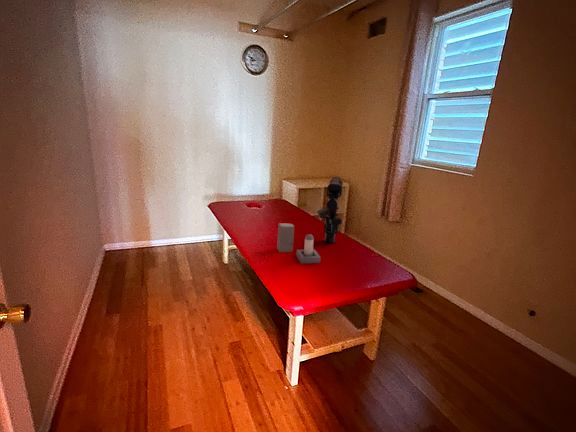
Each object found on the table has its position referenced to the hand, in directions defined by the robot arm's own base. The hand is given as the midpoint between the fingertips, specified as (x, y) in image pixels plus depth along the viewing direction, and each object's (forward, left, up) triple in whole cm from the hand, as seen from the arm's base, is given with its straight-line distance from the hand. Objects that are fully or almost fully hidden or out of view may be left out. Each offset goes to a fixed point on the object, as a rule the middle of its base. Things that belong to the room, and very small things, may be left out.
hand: (329, 230), depth 187 cm
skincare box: (-3, -26, -13) cm, 29 cm away
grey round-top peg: (+10, -16, -12) cm, 22 cm away
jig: (+10, -16, -13) cm, 23 cm away
